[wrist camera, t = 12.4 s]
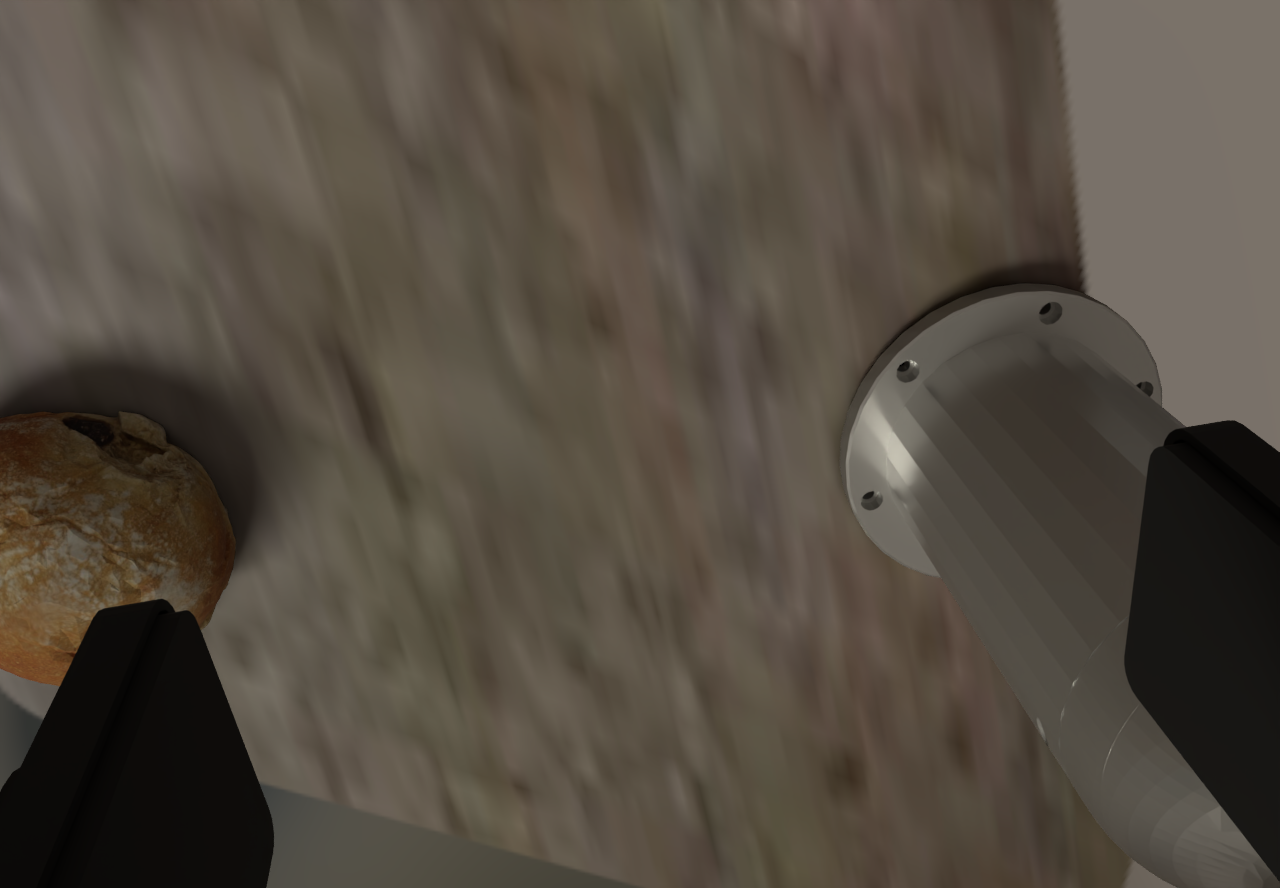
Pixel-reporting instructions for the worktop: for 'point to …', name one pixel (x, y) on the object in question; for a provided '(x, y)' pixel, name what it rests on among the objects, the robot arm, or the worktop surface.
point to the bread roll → (99, 532)
